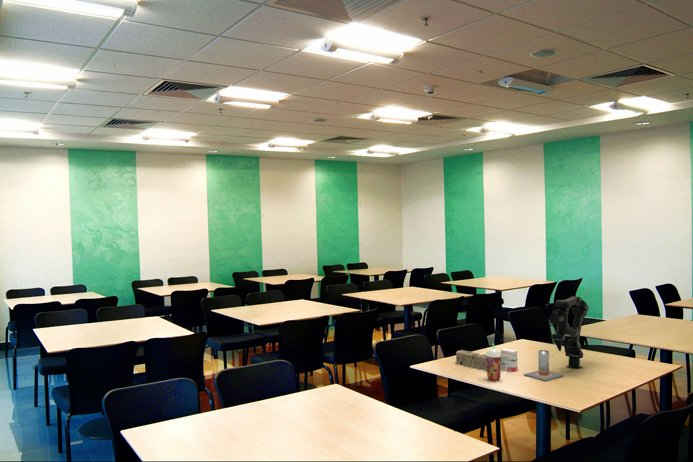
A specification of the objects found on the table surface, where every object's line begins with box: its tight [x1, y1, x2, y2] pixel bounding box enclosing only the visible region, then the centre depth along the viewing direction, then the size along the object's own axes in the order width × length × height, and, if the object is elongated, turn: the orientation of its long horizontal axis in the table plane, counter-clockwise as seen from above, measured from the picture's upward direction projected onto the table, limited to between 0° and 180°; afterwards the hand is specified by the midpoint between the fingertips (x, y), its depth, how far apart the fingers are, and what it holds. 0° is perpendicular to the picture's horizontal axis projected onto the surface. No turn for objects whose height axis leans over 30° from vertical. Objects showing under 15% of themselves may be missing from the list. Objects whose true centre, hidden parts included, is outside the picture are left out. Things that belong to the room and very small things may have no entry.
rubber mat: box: [523, 370, 565, 382], centre depth 294 cm, size 16×14×1 cm
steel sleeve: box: [537, 349, 550, 376], centre depth 294 cm, size 6×6×13 cm
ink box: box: [500, 348, 519, 373], centre depth 309 cm, size 8×5×12 cm, turn 39°
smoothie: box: [485, 343, 502, 382], centre depth 289 cm, size 8×8×20 cm
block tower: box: [455, 349, 502, 372], centre depth 317 cm, size 8×8×29 cm
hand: (562, 349), depth 302 cm, fingers open, 9 cm apart
